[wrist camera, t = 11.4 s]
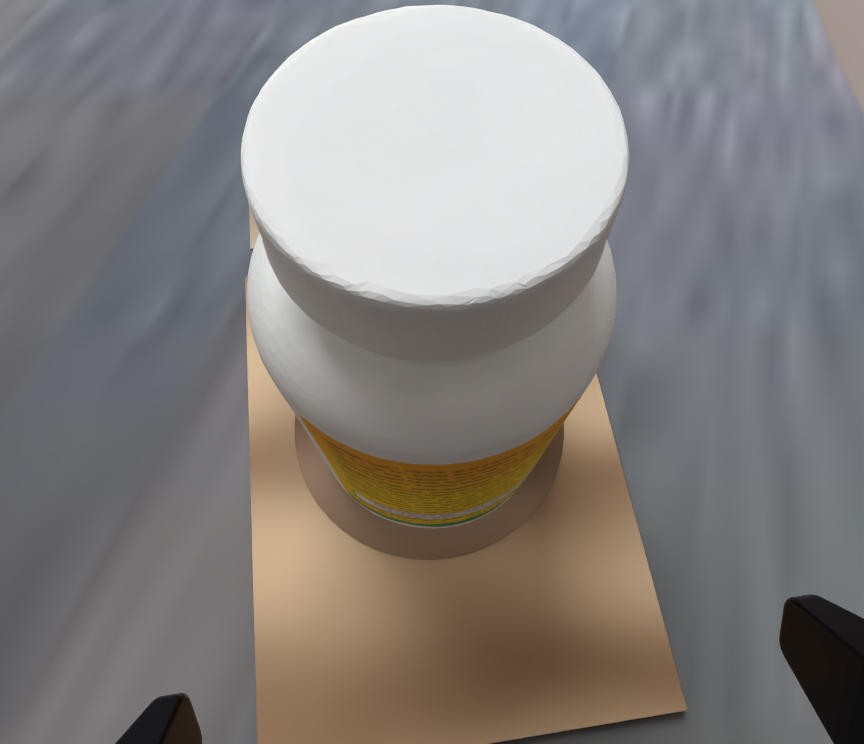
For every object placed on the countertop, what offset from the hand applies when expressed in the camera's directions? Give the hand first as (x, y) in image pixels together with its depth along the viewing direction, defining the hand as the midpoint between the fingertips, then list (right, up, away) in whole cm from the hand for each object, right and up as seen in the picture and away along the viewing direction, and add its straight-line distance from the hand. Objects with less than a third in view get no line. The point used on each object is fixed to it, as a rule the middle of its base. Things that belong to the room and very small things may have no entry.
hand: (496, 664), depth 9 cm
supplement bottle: (-1, +2, +11) cm, 12 cm away
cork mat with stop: (-1, +1, +11) cm, 11 cm away
